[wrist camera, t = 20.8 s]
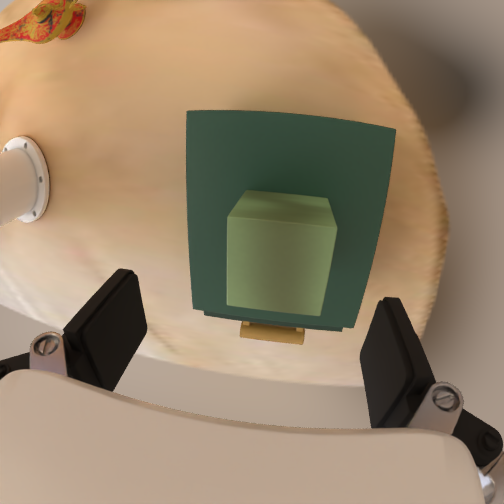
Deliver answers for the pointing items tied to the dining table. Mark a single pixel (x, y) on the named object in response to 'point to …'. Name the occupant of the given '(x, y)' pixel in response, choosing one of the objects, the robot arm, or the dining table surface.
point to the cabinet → (290, 182)
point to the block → (279, 252)
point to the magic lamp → (46, 22)
